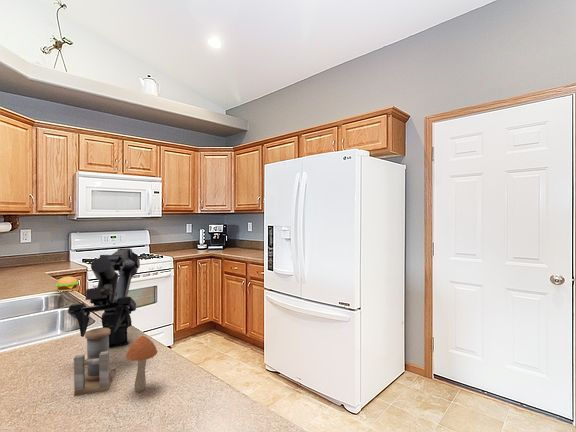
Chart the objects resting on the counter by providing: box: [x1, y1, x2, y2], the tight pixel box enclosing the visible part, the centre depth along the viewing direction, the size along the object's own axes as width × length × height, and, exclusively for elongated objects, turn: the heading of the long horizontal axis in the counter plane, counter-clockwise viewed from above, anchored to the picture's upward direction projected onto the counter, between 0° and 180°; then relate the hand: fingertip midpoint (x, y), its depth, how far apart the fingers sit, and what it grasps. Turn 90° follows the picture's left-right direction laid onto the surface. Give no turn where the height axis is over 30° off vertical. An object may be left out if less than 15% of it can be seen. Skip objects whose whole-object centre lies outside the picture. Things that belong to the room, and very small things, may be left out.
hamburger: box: [55, 275, 80, 292], centre depth 203 cm, size 12×12×9 cm
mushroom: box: [125, 334, 158, 393], centre depth 90 cm, size 8×8×15 cm
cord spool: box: [84, 327, 112, 381], centre depth 96 cm, size 6×6×13 cm
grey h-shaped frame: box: [73, 350, 117, 397], centre depth 94 cm, size 11×8×10 cm
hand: (98, 334), depth 100 cm, fingers open, 9 cm apart
